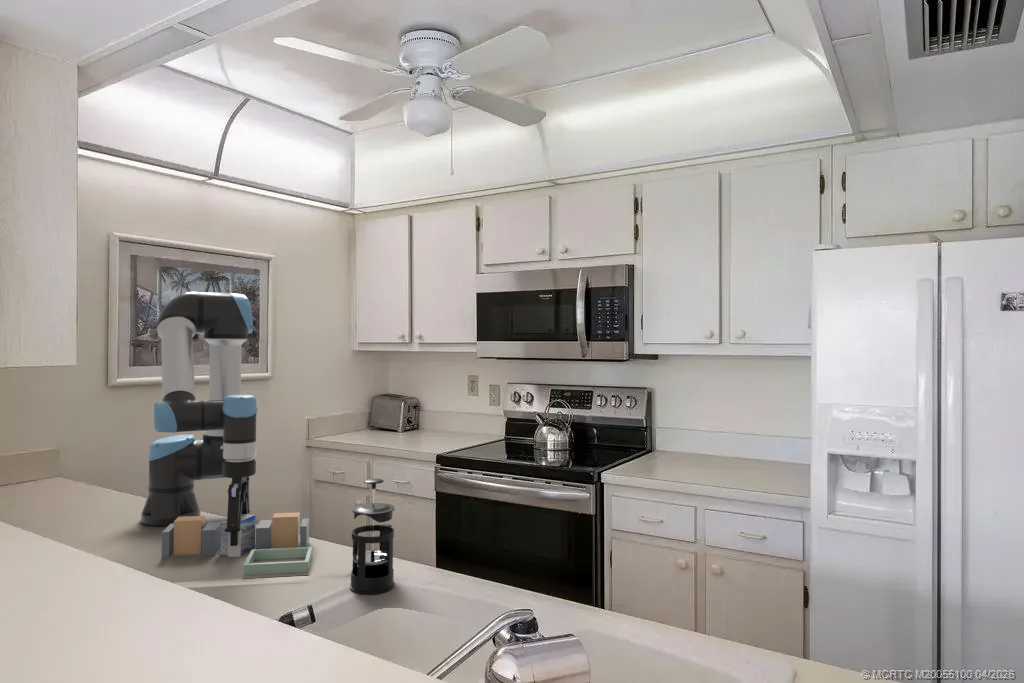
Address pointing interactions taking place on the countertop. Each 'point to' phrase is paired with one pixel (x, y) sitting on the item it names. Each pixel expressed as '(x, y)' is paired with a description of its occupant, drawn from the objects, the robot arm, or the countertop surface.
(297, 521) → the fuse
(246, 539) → the medicine box
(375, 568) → the french press
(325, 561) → the countertop surface
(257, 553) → the tray
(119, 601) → the countertop surface
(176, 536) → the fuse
